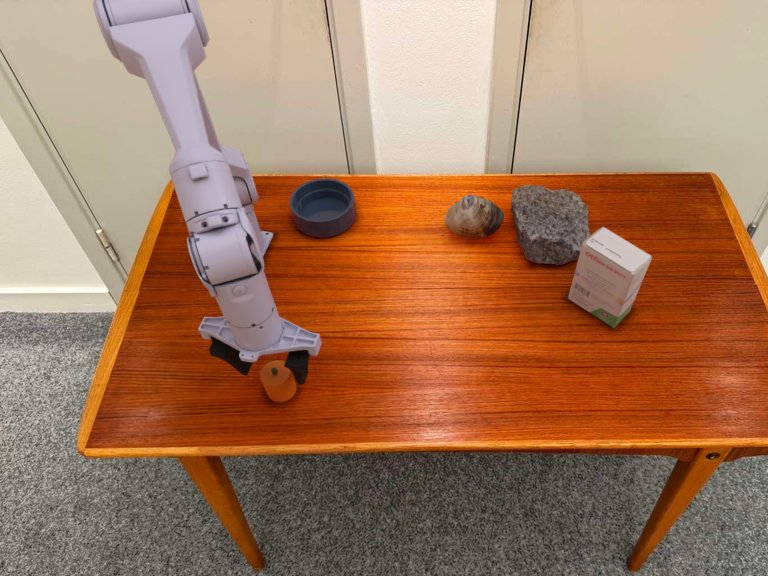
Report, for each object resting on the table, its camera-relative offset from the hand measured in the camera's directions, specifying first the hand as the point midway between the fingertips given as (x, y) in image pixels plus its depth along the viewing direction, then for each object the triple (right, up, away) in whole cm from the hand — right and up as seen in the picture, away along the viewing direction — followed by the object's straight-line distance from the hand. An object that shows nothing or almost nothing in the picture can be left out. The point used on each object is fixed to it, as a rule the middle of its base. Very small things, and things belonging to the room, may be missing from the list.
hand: (275, 373), depth 82 cm
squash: (0, -2, +3) cm, 4 cm away
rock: (+39, +21, +21) cm, 49 cm away
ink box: (+45, +10, +13) cm, 48 cm away
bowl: (+2, +25, +23) cm, 34 cm away
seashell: (+27, +21, +21) cm, 40 cm away
